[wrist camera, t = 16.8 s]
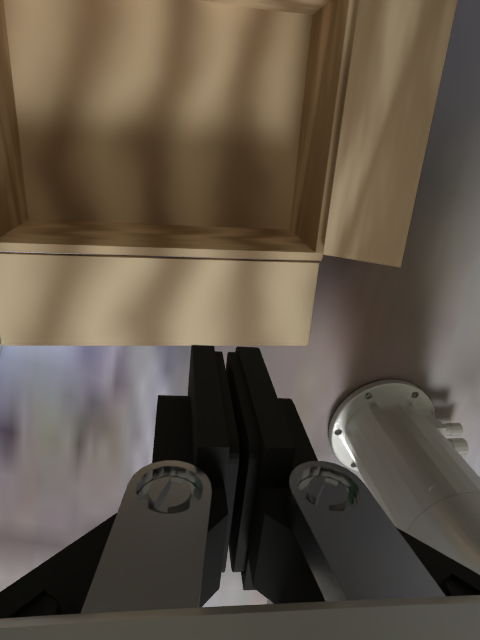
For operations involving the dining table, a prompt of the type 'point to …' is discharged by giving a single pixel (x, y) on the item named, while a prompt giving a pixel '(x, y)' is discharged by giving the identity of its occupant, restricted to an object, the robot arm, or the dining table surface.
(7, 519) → the dining table surface
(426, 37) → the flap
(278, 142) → the carton
